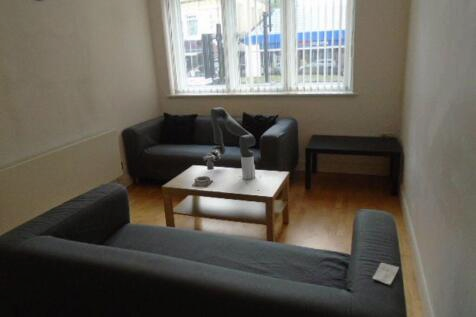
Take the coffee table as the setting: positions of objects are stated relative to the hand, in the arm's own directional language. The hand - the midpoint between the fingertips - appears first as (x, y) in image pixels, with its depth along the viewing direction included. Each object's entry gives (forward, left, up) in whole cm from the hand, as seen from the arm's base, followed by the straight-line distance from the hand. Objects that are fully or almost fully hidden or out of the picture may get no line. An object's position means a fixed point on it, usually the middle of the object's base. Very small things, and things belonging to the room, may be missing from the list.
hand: (208, 161), depth 284 cm
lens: (0, -2, -7) cm, 7 cm away
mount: (+2, +10, -15) cm, 18 cm away
